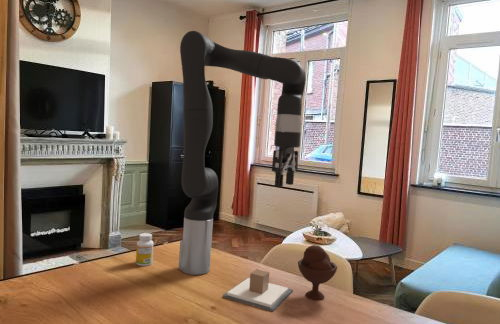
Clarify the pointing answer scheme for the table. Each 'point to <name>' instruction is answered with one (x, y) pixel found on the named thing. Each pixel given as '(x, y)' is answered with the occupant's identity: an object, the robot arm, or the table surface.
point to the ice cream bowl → (316, 270)
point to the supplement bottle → (144, 250)
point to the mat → (259, 304)
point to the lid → (258, 289)
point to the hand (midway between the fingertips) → (284, 185)
